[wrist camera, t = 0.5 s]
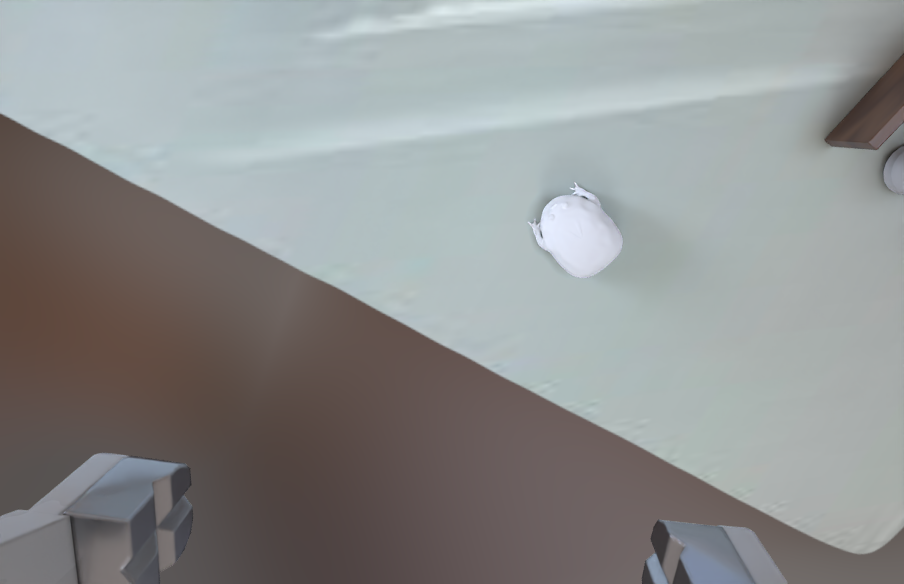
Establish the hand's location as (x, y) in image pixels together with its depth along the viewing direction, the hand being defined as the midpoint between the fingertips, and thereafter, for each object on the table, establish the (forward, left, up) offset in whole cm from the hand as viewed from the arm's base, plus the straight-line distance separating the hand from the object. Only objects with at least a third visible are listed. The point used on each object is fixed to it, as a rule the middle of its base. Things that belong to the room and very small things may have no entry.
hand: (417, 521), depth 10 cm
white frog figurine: (+2, +10, -45) cm, 46 cm away
